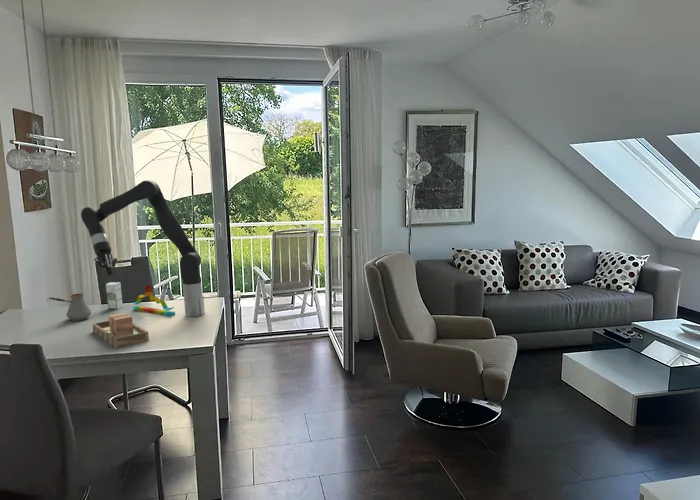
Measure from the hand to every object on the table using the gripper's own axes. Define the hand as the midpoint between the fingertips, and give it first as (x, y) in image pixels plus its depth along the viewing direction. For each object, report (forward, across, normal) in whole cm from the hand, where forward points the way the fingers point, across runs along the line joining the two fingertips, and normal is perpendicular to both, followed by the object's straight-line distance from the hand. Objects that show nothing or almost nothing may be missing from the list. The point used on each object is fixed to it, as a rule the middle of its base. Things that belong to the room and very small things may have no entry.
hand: (111, 275), depth 242 cm
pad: (+35, -10, -5) cm, 36 cm away
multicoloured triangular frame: (+18, +30, +7) cm, 36 cm away
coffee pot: (+8, +5, +37) cm, 38 cm away
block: (+32, -11, -5) cm, 34 cm away
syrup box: (+4, +32, +32) cm, 45 cm away
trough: (+32, -8, -1) cm, 33 cm away
